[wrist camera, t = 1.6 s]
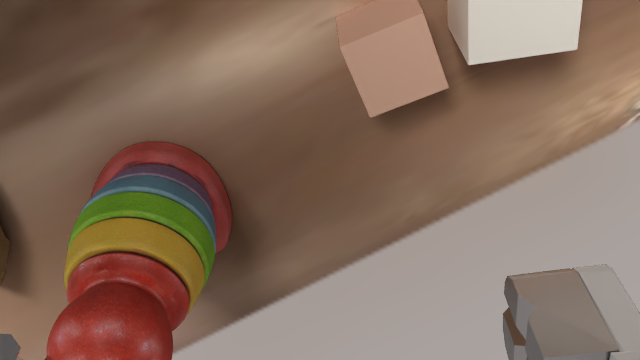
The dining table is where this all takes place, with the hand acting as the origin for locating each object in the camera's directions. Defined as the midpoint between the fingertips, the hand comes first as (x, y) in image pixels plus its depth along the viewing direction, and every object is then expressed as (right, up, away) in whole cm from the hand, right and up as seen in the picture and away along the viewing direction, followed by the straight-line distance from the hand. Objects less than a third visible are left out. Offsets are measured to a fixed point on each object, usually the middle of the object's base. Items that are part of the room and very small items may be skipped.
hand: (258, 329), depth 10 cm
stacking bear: (-11, +1, +36) cm, 37 cm away
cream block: (+12, +15, +26) cm, 33 cm away
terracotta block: (+5, +12, +29) cm, 31 cm away
